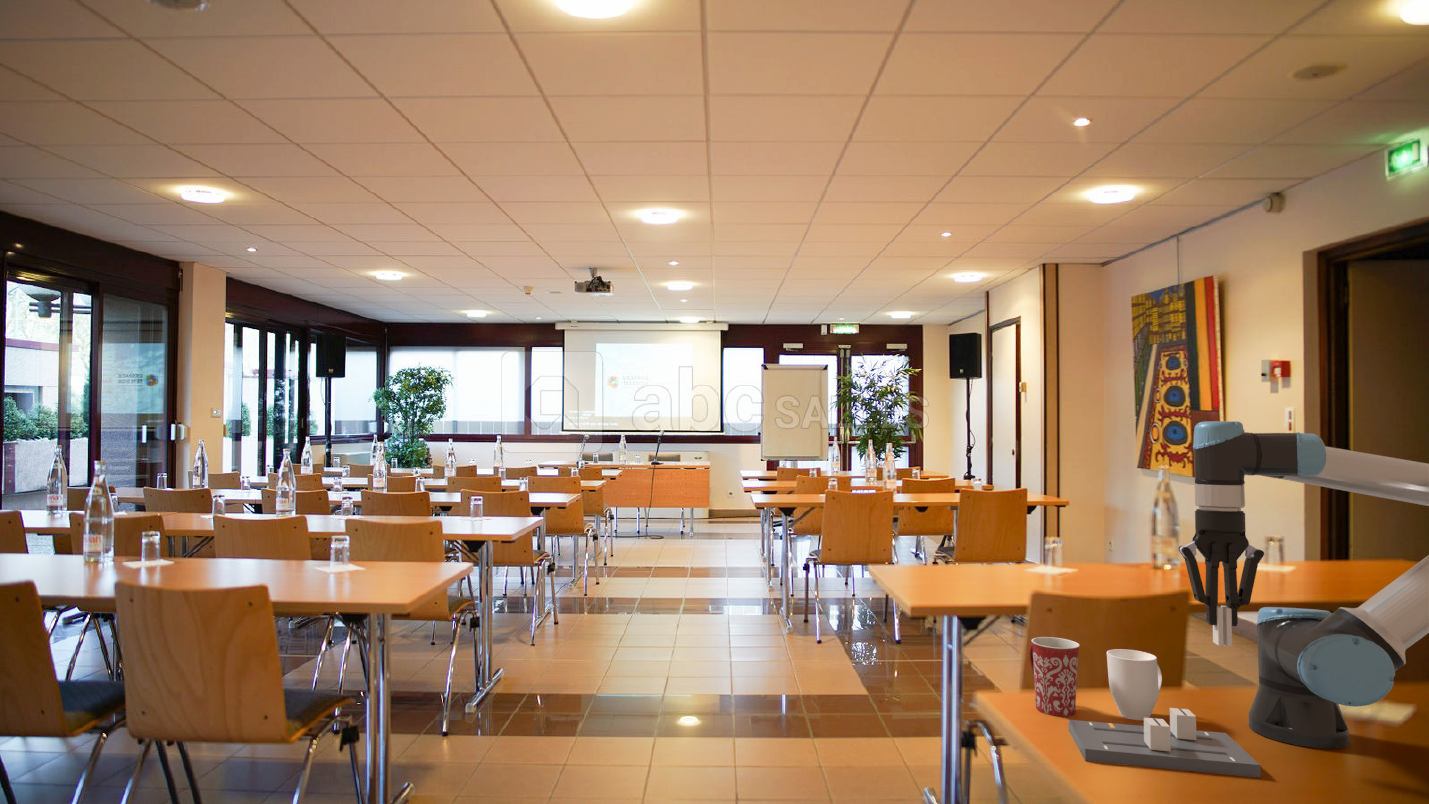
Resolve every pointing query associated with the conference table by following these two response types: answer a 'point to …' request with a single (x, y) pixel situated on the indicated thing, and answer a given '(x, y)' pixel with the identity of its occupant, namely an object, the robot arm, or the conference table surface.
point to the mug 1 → (1055, 674)
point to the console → (1188, 755)
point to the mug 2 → (1134, 682)
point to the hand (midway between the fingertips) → (1222, 644)
